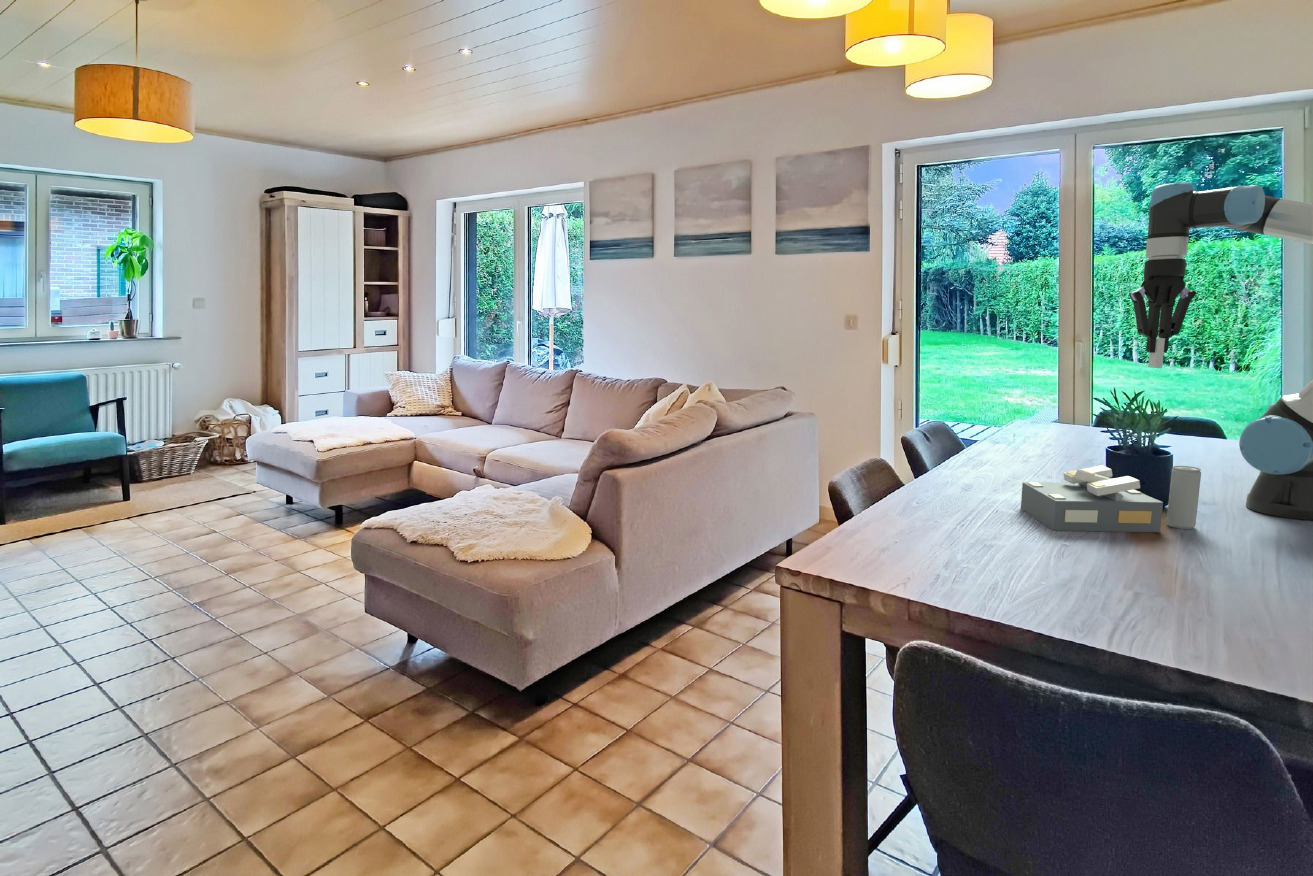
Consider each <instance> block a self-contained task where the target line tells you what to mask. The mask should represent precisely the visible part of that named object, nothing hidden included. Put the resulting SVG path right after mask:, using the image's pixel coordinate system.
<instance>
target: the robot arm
mask: <svg viewBox="0 0 1313 876" xmlns="http://www.w3.org/2000/svg"><path fill="white" fill-rule="evenodd" d="M1148 211H1149V212H1148V227H1147V237H1146V247H1145V249H1146V250H1145V258H1147V260H1146V261H1144V268H1143V282H1141V285H1140V287H1139V288H1138V289H1136V290H1135V291H1130V292H1129V294H1128V296H1129V298H1130V299H1131V301H1132V304H1133V309H1134V317H1135V322H1136V328H1137V333H1138V335H1140V336H1143V337H1145V338H1146V348H1145V352H1146V353H1148V354H1149V355H1148V356H1149V357H1148V364H1147V366H1148V368H1153V369H1162V368H1163V362H1164V354H1165V353H1167V352H1168V349H1169V339H1171V338H1172V337H1173V336H1175V335H1176V336H1177V335H1179V334H1180V332H1181V329H1182V326H1183V324H1184V320H1185V317H1186V314H1187V312H1188V309H1189V307H1190V303H1191V301H1193V299H1194V298H1195V296H1196V295H1197V292H1196V291H1195V290H1190V289H1189V288H1188V287H1186V283H1185V281H1184V279H1185V274H1186V269H1187V268H1186V267H1187V259H1185V258H1184V257H1186V256H1188V250H1189V249H1188V248H1189V239H1190V238H1189V237H1190V230H1191V229H1201V228H1203V229H1204V228H1218V227H1220V228H1221V227H1222V228H1226V229H1227V228H1228V229H1233V230H1235V231H1239V232H1245V233H1246V232H1248V233H1253V234H1257V235H1263V236H1269V237H1274V238H1279V239H1282V240H1283V239H1285V240H1289V241H1294V242H1299V243H1305V244H1310V245H1313V203H1309V202H1304V201H1297V200H1291V199H1285V198H1278V197H1274V196H1269V195H1265V191H1264V189H1263V187H1262V186H1260V185H1258V184H1256V185H1254V184H1253V185H1237V186H1233V187H1225V188H1218V189H1217V188H1216V189H1210V190H1208V189H1207V190H1201V191H1196V190H1195V186H1194V184H1193V183H1191V182H1176V183H1166V184H1165V183H1164V184H1161V185H1157V186H1156V187H1154V188H1153V190H1152V192H1151V199H1150V204H1149V208H1148ZM1178 296H1179V298H1178ZM1145 297H1146V298H1147V299H1148V300H1147V307H1148V312H1147V307H1146V301H1145V299H1144V298H1145ZM1177 298H1178V301H1177V302H1176V299H1177ZM1175 305H1176V306H1175ZM1174 306H1175V309H1174ZM1238 440H1239V441H1238V442H1239V443H1238V445H1239V451H1240V453H1241V455H1242V457H1243V458H1244V461H1246V463H1248V465H1250V466H1251V467H1252V468H1254V469H1256V471H1257V470H1258V471H1259V473H1258V476H1257V478H1256V479H1255V481H1254V483H1253V485H1252V487H1251V489H1250V491H1249V492H1248V494H1247V496H1246V500H1245V507H1246V508H1247V509H1249V510H1250V511H1251V510H1252V511H1255V512H1257V513H1261V514H1264V515H1270V516H1276V517H1281V518H1287V519H1288V518H1289V519H1296V520H1308V521H1309V520H1310V521H1311V520H1313V379H1311V380H1310V382H1308V383H1307V384H1306V385H1305V386H1304V387H1303V388H1302V389H1301V390H1300V391H1299V392H1297V393H1294V394H1293V393H1292V394H1285V395H1283V396H1281V397H1280V399H1278V400H1277V401H1276V402H1273V403H1270V404H1269V406H1268V408H1267V411H1266V412H1264V414H1263V415H1261V416H1260V417H1258V418H1256V419H1254V420H1253V421H1251V422H1249V423H1248V424H1247V425H1246V427H1245V428H1244V429H1243V430H1242V432H1241V434H1240V437H1239V439H1238Z"/></svg>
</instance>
